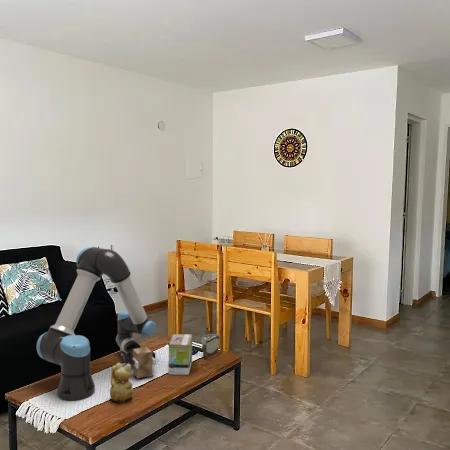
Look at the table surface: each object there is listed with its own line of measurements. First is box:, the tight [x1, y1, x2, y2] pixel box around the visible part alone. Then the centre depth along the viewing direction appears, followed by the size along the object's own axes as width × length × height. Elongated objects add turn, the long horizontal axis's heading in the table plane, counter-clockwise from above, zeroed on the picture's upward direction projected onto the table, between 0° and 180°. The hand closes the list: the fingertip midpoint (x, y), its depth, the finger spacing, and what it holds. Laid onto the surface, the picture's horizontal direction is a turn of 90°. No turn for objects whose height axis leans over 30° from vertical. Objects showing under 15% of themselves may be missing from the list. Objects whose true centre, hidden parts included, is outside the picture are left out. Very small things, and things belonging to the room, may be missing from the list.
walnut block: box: [132, 346, 153, 379], centre depth 215 cm, size 7×7×11 cm
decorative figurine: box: [109, 362, 134, 403], centre depth 192 cm, size 10×8×15 cm
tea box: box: [167, 333, 193, 376], centre depth 224 cm, size 15×10×15 cm
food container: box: [200, 333, 221, 360], centre depth 241 cm, size 12×6×10 cm, turn 144°
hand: (146, 364), depth 211 cm, fingers closed on walnut block, 7 cm apart
